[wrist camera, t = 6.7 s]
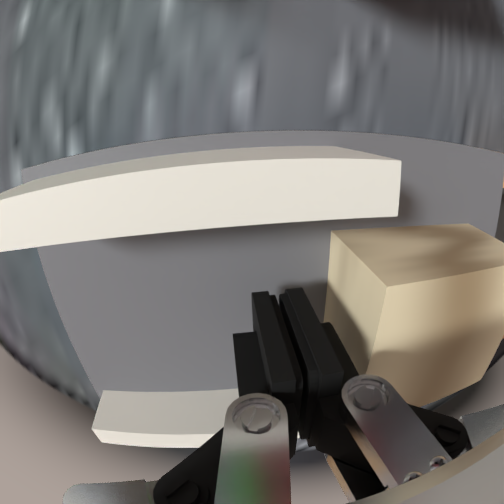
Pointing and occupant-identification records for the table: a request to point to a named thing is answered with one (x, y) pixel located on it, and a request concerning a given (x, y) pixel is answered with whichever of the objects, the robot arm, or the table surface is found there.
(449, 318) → the block
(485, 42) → the table surface
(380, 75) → the table surface
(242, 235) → the grey compartment tray
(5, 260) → the table surface
